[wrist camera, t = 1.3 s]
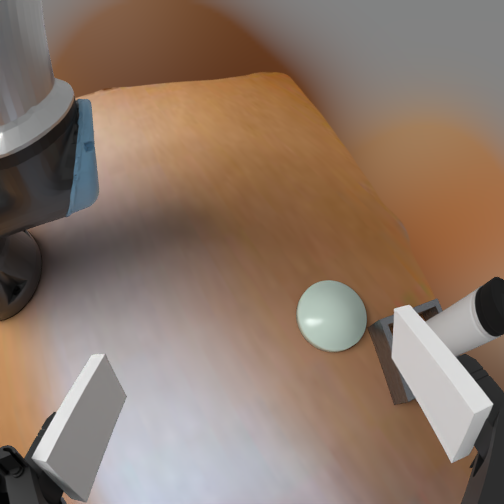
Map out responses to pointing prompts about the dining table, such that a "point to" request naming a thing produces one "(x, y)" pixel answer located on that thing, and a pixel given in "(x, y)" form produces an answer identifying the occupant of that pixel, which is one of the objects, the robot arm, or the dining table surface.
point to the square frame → (384, 351)
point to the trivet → (331, 316)
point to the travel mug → (472, 319)
